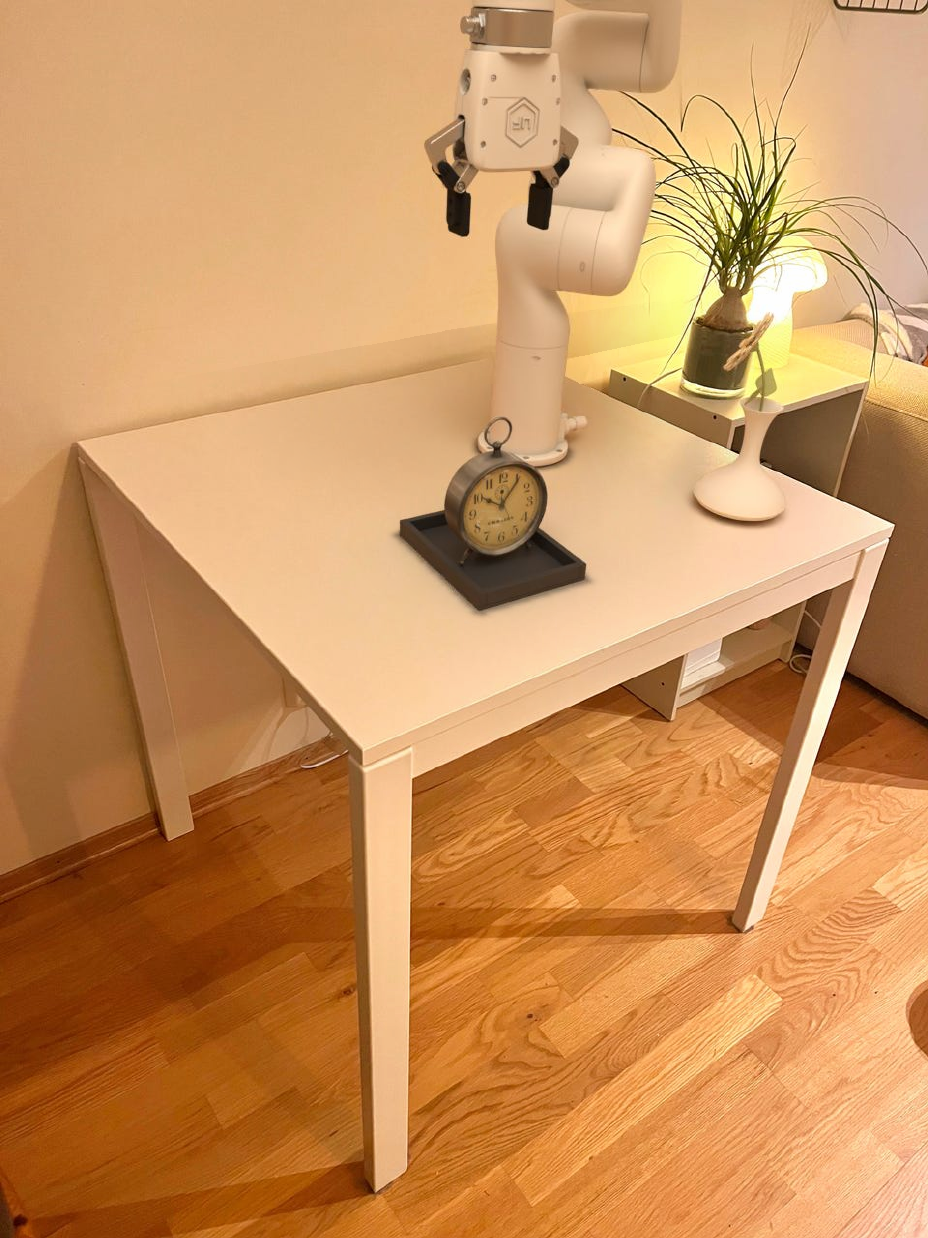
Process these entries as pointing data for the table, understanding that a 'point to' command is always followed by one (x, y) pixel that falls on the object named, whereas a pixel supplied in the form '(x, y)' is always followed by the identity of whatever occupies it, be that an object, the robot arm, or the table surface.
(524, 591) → the tray
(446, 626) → the table surface
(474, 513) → the alarm clock
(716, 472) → the flower in vase
